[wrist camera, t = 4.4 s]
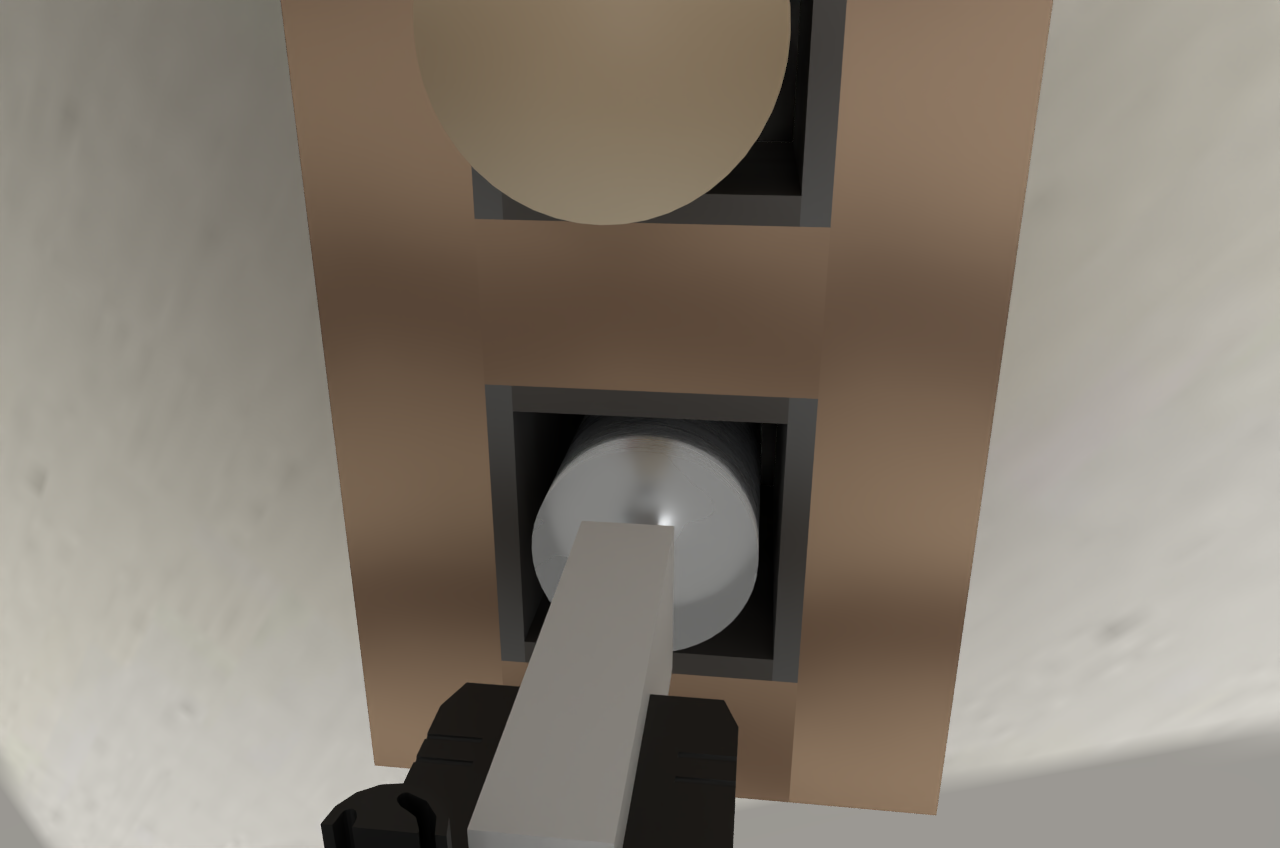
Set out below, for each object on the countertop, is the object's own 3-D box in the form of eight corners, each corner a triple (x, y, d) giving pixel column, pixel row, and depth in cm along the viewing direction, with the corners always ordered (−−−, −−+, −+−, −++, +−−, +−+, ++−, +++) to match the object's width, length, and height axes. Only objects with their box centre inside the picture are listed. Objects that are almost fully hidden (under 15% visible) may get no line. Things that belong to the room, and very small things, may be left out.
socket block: (415, -274, 21) (228, -429, 14) (993, -294, 20) (1121, -477, 13) (475, 578, 29) (374, 765, 22) (892, 606, 28) (936, 815, 20)
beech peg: (546, -101, 17) (397, -181, 10) (790, -105, 17) (802, -191, 10) (554, 148, 19) (428, 221, 12) (777, 152, 18) (780, 229, 12)
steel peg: (595, 327, 25) (527, 445, 18) (766, 333, 24) (763, 457, 17) (598, 480, 26) (536, 644, 19) (758, 490, 26) (753, 660, 19)
